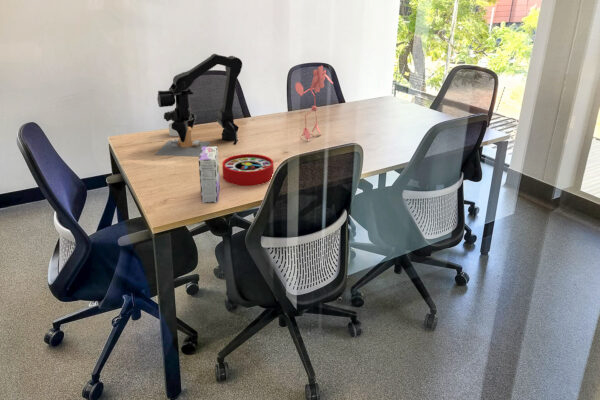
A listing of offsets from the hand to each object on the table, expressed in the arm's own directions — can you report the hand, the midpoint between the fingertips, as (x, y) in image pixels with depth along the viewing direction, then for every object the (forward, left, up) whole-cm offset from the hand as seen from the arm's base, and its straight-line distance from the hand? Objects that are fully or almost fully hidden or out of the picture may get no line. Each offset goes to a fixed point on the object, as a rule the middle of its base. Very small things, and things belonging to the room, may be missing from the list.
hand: (185, 138), depth 219 cm
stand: (0, +4, -5) cm, 6 cm away
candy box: (-23, +49, -5) cm, 54 cm away
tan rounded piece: (0, 0, -3) cm, 3 cm away
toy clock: (-33, +29, -5) cm, 45 cm away
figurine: (-59, -21, -5) cm, 63 cm away
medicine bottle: (+8, -16, -5) cm, 19 cm away
